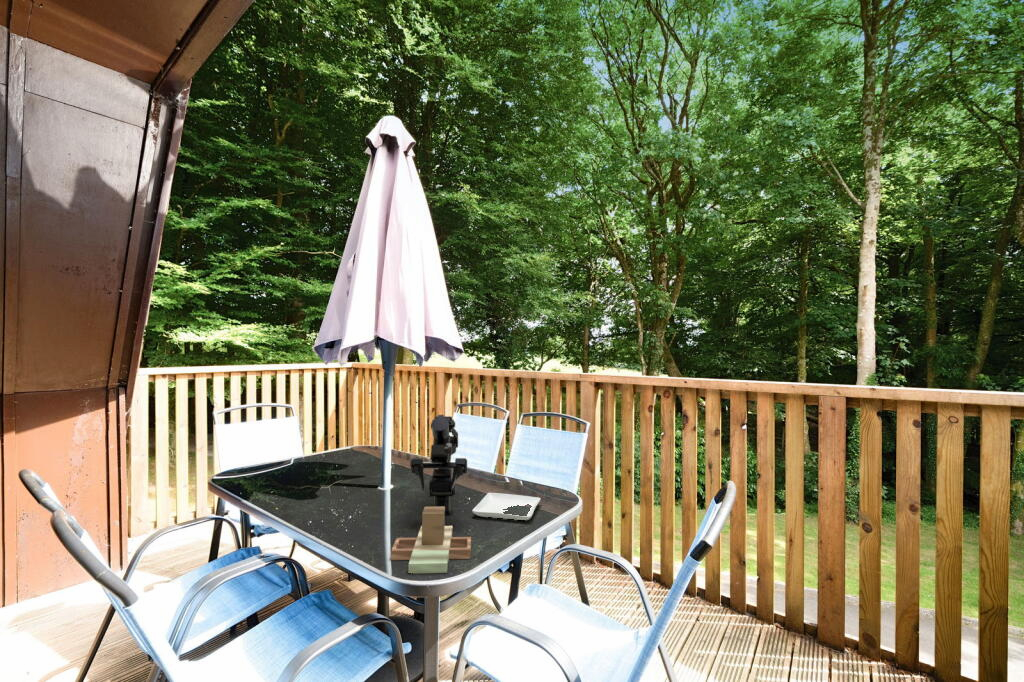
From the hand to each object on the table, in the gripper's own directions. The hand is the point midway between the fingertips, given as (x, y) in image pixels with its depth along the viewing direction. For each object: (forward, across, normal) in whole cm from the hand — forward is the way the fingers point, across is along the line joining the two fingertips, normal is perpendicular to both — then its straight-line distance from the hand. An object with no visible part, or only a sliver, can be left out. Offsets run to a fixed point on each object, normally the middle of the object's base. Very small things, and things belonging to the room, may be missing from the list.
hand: (437, 489), depth 149 cm
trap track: (+20, +1, -2) cm, 20 cm away
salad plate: (-2, +24, +23) cm, 33 cm away
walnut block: (+18, 0, -2) cm, 18 cm away
